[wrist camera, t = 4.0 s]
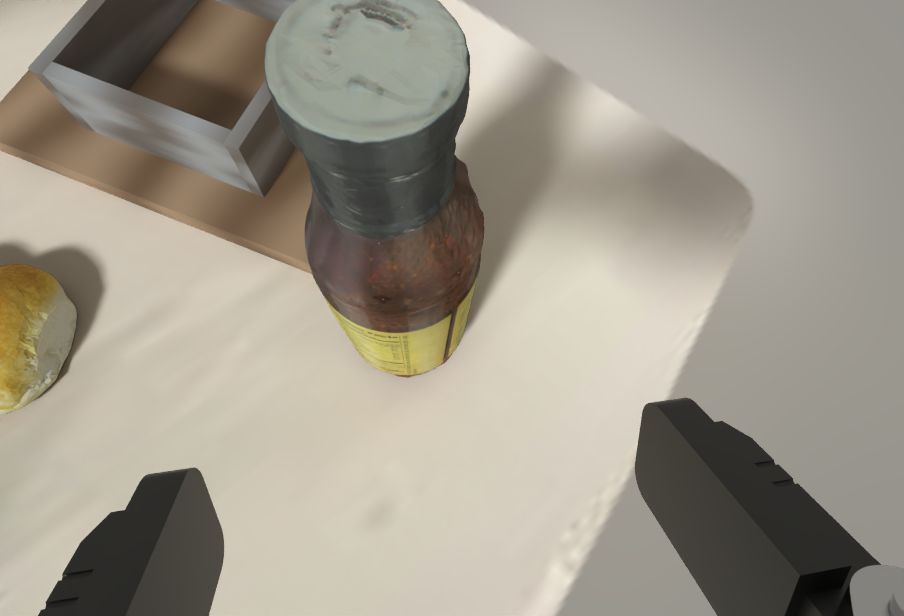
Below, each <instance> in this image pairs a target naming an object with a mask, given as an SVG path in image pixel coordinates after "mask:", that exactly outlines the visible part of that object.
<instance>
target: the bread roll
mask: <svg viewBox="0 0 904 616" xmlns="http://www.w3.org/2000/svg"><path fill="white" fill-rule="evenodd" d="M76 321H77V311H76V308H75V306H74V304H73V303H72V302H71V301H70V299H69V298H68V297H67V296H66V294H65V292H64V290H63V288H62V287H61V285H60V284H59V283H58V282H57V280H56V279H55V278H54V277H53V276H51V275H50V274H48V273H46V272H44V271H42V270H39V269H37V268H34V267H31V266H27V265H21V264H11V265H5V266H1V267H0V416H2V415H5V414H8V413H10V412H13V411H15V410H17V409H19V408H22V407H24V406H26V405H27V404H29V403H30V402H32V401H33V400H34V399H36V398H37V397H39V396H40V395H41V394H42V393H43V392H44V391H45V390H46V389H47V388H48V387H50V385H51V384H52V383H53V382H54V381H55V380H56V379H57V376H58V374H59V372H60V370H61V368H62V365H63V363H64V361H65V359H66V357H67V356H68V354H69V352H70V349H71V345H72V342H73V338H74V333H75V329H76Z"/></svg>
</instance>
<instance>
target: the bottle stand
mask: <svg viewBox="0 0 904 616" xmlns="http://www.w3.org/2000/svg"><path fill="white" fill-rule="evenodd" d="M295 1H296V0H88V1H87V2H86V3H85V4H84V5H83V6H82V7H81V9H80V10H79V11H78V12H77V13H76V14H75V15H74V16H73V18H72V19H71V20H70V21H69V22H68V23H67V24H66V25H65V27H64V28H63V29H62V30H61V31H60V32H59V33H58V34H57V36H56V37H55V38H54V39H53V40H52V41H51V42H50V43H49V45H48V46H47V47H46V48H45V49H44V50H43V51H42V53H41V54H40V55H39V56H38V57H37V58H36V59H35V60H34V62H33V63H32V64H31V65H30V66H29V67H28V68H29V70H28V71H27V73H26V74H25V75H24V76H23V77H22V78H21V79H20V81H19V82H18V83H17V84H16V85H15V86H14V87H13V88H12V90H11V91H10V92H9V93H8V94H7V95H6V96H5V97H4V99H3V100H2V101H1V102H0V150H1V151H3V152H6V153H9V154H11V155H14V156H16V157H19V158H21V159H24V160H26V161H29V162H31V163H34V164H36V165H39V166H41V167H44V168H46V169H49V170H51V171H54V172H56V173H59V174H61V175H64V176H67V177H69V178H72V179H74V180H77V181H79V182H82V183H84V184H87V185H89V186H92V187H94V188H97V189H99V190H102V191H104V192H107V193H109V194H112V195H114V196H117V197H119V198H122V199H125V200H127V201H130V202H132V203H135V204H137V205H140V206H142V207H145V208H147V209H150V210H152V211H155V212H157V213H160V214H162V215H165V216H167V217H170V218H172V219H175V220H177V221H180V222H183V223H185V224H188V225H190V226H193V227H195V228H198V229H200V230H203V231H205V232H208V233H210V234H213V235H215V236H218V237H220V238H223V239H225V240H228V241H230V242H233V243H235V244H238V245H241V246H243V247H246V248H248V249H251V250H253V251H256V252H258V253H261V254H263V255H266V256H268V257H271V258H273V259H276V260H278V261H281V262H283V263H286V264H288V265H291V266H293V267H296V268H299V269H301V270H304V271H306V272H309V273H311V274H312V271H311V269H310V266H309V263H308V259H307V254H306V250H305V221H306V215H307V212H308V209H309V206H310V203H311V197H312V190H313V189H312V186H311V181H310V175H309V168H308V166H307V162H306V160H305V157H304V155H303V154H302V153H301V152H300V151H299V150H298V149H297V148H296V147H295V146H294V144H293V143H292V142H291V141H290V139H289V138H288V137H287V135H286V133H285V131H284V130H283V128H282V126H281V123H280V120H279V118H278V115H277V113H276V110H275V107H274V104H273V100H272V98H271V95H270V92H269V90H268V87H267V84H266V79H265V71H264V54H265V46H266V42H267V40H268V38H269V36H270V34H271V32H272V31H273V28H274V26H275V25H276V23H277V22H278V20H279V18H280V17H281V15H282V13H283V12H284V11H285V9H287V8H288V7H289V6H290V5H291V4H292V3H293V2H295Z"/></svg>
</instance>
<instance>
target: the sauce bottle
mask: <svg viewBox="0 0 904 616" xmlns="http://www.w3.org/2000/svg"><path fill="white" fill-rule="evenodd" d="M264 71H265V79H266V84H267V87H268V90H269V92H270V95H271V98H272V100H273V104H274V107H275V110H276V113H277V115H278V118H279V120H280V123H281V126H282V128H283V130H284V131H285V133H286V135H287V137H288V138H289V139H290V141H291V142H292V143H293V144H294V146H295V147H296V148H297V149H298V150H299V151H300V152H301V153H302V154H303V155H304V157H305V160H306V162H307V166H308V168H309V175H310V181H311V186H312V189H313V190H312V197H311V203H310V206H309V209H308V212H307V215H306V221H305V250H306V254H307V259H308V263H309V266H310V269H311V271H312V274H313V277H314V279H315V281H316V283H317V285H318V287H319V289H320V291H321V292H322V294H323V296H324V298H325V299H326V301H327V303H328V305H329V307H330V309H331V310H332V312H333V314H334V315H335V317H336V318H337V320H338V322H339V323H340V325H341V326H342V328H343V329H344V331H345V332H346V334H347V335H348V337H349V338H350V340H351V342H352V343H353V345H354V346H355V348H356V349H357V351H358V352H359V354H360V355H361V356H362V357H363V358H364V359H365V360H366V361H367V362H368V363H369V364H371V365H372V366H373V367H375V368H376V369H378V370H381V371H384V372H387V373H391V374H394V375H397V376H400V377H411V376H415V375H420V374H423V373H426V372H429V371H430V370H433V369H435V368H436V367H437V366H440V365H442V364H443V363H445V362H446V361H447V360H448V359H449V357H450V356H451V355H452V353H453V352H454V351H455V349H456V348H457V346H458V344H459V342H460V340H461V338H462V336H463V333H464V329H465V325H466V321H467V317H468V314H469V309H470V305H471V301H472V297H473V293H474V289H475V285H476V281H477V277H478V272H479V268H480V261H481V248H482V244H483V238H484V217H483V212H482V211H481V209H480V208H479V204H478V199H477V196H476V194H475V192H474V191H473V189H472V187H471V185H470V181H469V178H468V171H467V167H466V165H465V163H463V162H462V161H460V160H459V159H458V158H457V157H456V156H455V155H454V153H455V148H456V143H455V137H456V135H457V132H458V130H459V127H460V125H461V123H462V122H463V120H464V117H465V114H466V110H467V104H468V97H469V75H470V55H469V52H468V48H467V45H466V39H465V35H464V33H463V31H462V30H461V28H460V26H459V25H458V23H457V21H456V20H455V19H454V17H453V16H452V15H451V14H450V13H449V12H448V11H447V10H446V8H445V7H444V6H443V5H442V4H441V3H440V2H439V1H437V0H296V1H295V2H293V3H292V4H291V5H290V6H289V7H288V8H287V9H285V11H284V12H283V13H282V15H281V17H280V18H279V20H278V22H277V23H276V25H275V26H274V28H273V31H272V32H271V34H270V36H269V38H268V40H267V42H266V46H265V54H264Z"/></svg>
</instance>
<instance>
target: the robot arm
mask: <svg viewBox="0 0 904 616" xmlns="http://www.w3.org/2000/svg"><path fill="white" fill-rule="evenodd" d="M635 474H636V480H637V484H638V487H639V490H640V492H641V495H642V497H643V498H644V500H645V502H646V503H647V505H648V507H649V508H650V510H651V511H652V513H653V515H654V516H655V518H656V519H657V521H658V522H659V524H660V525H661V527H662V528H663V530H664V532H665V533H666V535H667V536H668V538H669V540H670V541H671V543H672V545H673V546H674V548H675V549H676V551H677V552H678V554H679V555H680V557H681V559H682V560H683V562H684V563H685V565H686V567H687V568H688V569H689V571H690V573H691V574H692V576H693V578H694V579H695V580H696V582H697V584H698V586H699V587H700V589H701V590H702V592H703V593H704V595H705V596H706V598H707V600H708V601H709V603H710V604H711V606H712V608H713V609H714V611H715V612H716V614H717V616H904V569H903V568H899V567H894V566H888V565H881V564H880V563H879V562H878V561H877V560H876V559H874V558H873V557H872V556H871V555H870V554H869V553H868V552H867V551H866V550H865V549H864V548H863V547H862V546H861V545H860V544H859V543H858V542H857V541H856V540H855V539H854V538H853V537H852V536H851V535H850V534H849V533H848V532H847V531H846V530H845V529H844V528H843V527H842V526H841V525H840V524H839V523H838V522H837V521H836V520H835V519H833V517H832V516H830V515H829V514H828V513H827V512H826V511H825V510H824V509H823V508H822V507H821V506H820V505H819V504H818V503H817V502H816V501H815V500H814V499H813V498H812V497H811V496H810V495H809V494H808V493H807V492H806V491H805V490H804V489H803V488H802V487H801V486H800V485H799V484H794V482H793V478H792V477H791V476H790V475H789V474H788V473H787V472H786V471H785V470H784V469H782V467H780V466H779V465H775V463H774V460H773V459H772V458H771V457H770V456H769V455H768V454H767V453H766V452H765V451H764V450H763V449H762V448H761V447H760V446H759V445H758V444H757V443H756V442H755V441H754V440H753V439H752V438H751V437H749V436H747V435H745V434H744V433H742V432H740V431H738V430H737V429H735V428H733V427H732V426H730V425H728V424H726V423H725V422H723V421H720V422H714V421H713V420H712V419H711V418H710V417H709V416H708V415H707V414H706V413H705V412H704V411H703V410H702V409H701V408H700V407H699V406H698V405H697V404H696V403H695V402H694V401H693V400H691V399H689V398H681V399H673V400H666V401H660V402H653V403H648V404H646V405H645V407H644V409H643V412H642V419H641V426H640V433H639V440H638V447H637V454H636V461H635ZM223 558H224V538H223V532H222V528H221V525H220V523H219V520H218V517H217V514H216V512H215V509H214V506H213V504H212V501H211V498H210V495H209V493H208V490H207V487H206V484H205V482H204V479H203V476H202V474H201V472H200V471H199V470H198V469H197V468H188V469H181V470H174V471H168V472H161V473H154V474H148V475H146V476H145V477H144V478H143V479H142V480H141V481H140V483H139V485H138V487H137V489H136V490H135V492H134V494H133V496H132V498H131V500H130V502H129V504H128V505H127V507H126V509H125V510H123V511H117V512H111V513H110V514H109V515H108V516H107V517H106V518H105V519H104V520H103V521H102V522H101V523H100V524H99V525H98V526H97V527H96V528H95V529H94V530H93V531H92V532H91V533H90V534H89V535H88V536H87V537H86V538H85V539H84V540H83V541H82V542H81V543H80V545H79V547H78V548H77V550H76V552H75V553H74V555H73V557H72V559H71V560H70V562H69V564H68V565H67V567H66V569H65V570H64V572H63V574H62V575H63V578H62V580H61V581H58V582H57V584H56V586H55V588H54V589H53V591H52V593H51V594H50V596H49V598H48V599H47V601H46V608H45V609H44V610H41V611H40V613H39V615H38V616H209V612H210V609H211V605H212V602H213V598H214V594H215V591H216V587H217V584H218V580H219V577H220V573H221V569H222V565H223Z"/></svg>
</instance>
